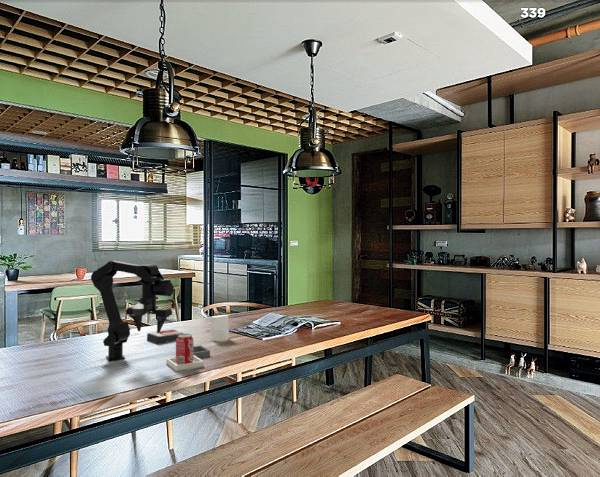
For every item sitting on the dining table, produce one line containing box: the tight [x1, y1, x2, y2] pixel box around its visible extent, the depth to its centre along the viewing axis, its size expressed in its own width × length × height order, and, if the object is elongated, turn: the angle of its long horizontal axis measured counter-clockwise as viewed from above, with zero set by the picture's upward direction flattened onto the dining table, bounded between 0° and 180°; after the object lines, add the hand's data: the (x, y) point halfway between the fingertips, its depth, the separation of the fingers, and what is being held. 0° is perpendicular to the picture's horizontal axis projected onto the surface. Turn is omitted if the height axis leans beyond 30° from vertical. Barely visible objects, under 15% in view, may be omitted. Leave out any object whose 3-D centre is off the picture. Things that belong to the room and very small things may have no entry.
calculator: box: [146, 329, 184, 345], centre depth 222 cm, size 11×4×15 cm
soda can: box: [175, 333, 194, 365], centre depth 180 cm, size 7×7×12 cm
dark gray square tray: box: [193, 345, 211, 359], centre depth 195 cm, size 10×10×2 cm
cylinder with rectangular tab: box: [210, 314, 229, 342], centre depth 224 cm, size 9×9×12 cm
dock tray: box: [165, 355, 205, 372], centre depth 180 cm, size 12×12×2 cm
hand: (148, 331), depth 183 cm, fingers open, 9 cm apart
